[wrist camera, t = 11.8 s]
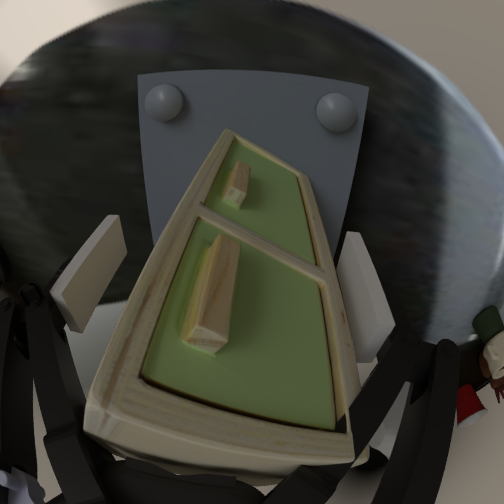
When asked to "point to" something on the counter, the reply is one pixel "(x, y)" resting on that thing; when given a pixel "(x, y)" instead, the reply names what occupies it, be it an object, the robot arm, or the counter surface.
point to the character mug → (492, 339)
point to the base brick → (250, 131)
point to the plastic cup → (468, 407)
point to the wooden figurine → (496, 384)
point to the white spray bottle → (390, 424)
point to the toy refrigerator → (232, 333)
